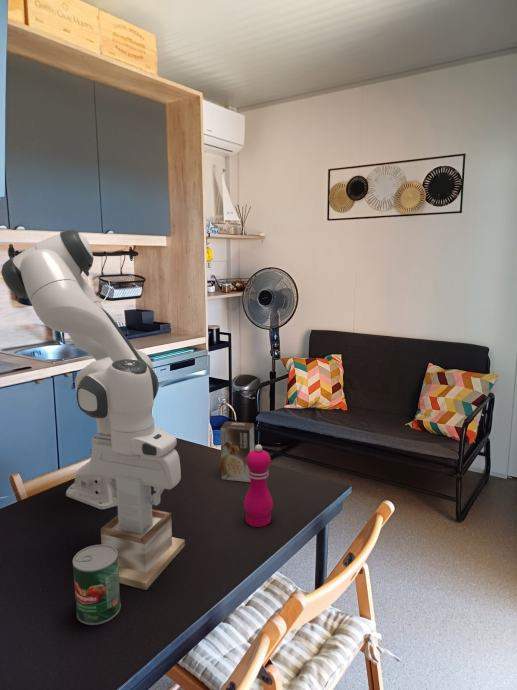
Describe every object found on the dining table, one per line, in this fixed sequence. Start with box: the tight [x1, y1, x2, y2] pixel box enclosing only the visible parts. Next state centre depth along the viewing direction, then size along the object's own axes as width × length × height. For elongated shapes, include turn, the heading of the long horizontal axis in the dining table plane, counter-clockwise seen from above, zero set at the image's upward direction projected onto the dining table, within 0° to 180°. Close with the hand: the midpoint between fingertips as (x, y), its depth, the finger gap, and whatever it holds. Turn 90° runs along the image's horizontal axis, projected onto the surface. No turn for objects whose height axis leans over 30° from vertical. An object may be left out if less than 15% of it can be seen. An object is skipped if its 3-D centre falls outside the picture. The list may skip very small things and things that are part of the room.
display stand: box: [100, 508, 186, 591], centre depth 107 cm, size 14×16×9 cm
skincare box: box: [116, 476, 153, 534], centre depth 104 cm, size 6×4×12 cm
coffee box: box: [219, 420, 255, 483], centre depth 146 cm, size 9×6×16 cm
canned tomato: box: [72, 544, 122, 626], centre depth 92 cm, size 8×8×11 cm
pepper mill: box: [243, 444, 274, 528], centre depth 122 cm, size 7×7×20 cm
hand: (136, 499), depth 105 cm, fingers open, 8 cm apart
